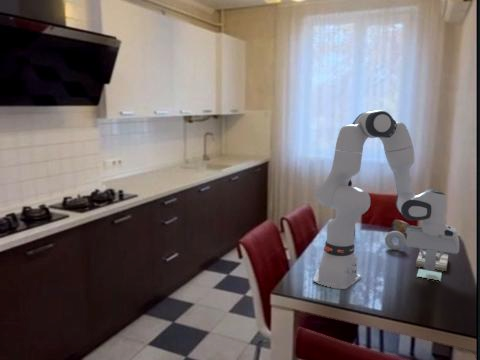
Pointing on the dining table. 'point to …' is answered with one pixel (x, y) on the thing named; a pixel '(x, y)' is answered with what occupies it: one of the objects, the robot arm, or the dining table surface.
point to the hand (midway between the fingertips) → (430, 259)
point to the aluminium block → (430, 260)
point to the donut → (395, 235)
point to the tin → (400, 226)
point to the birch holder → (439, 264)
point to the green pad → (429, 274)
